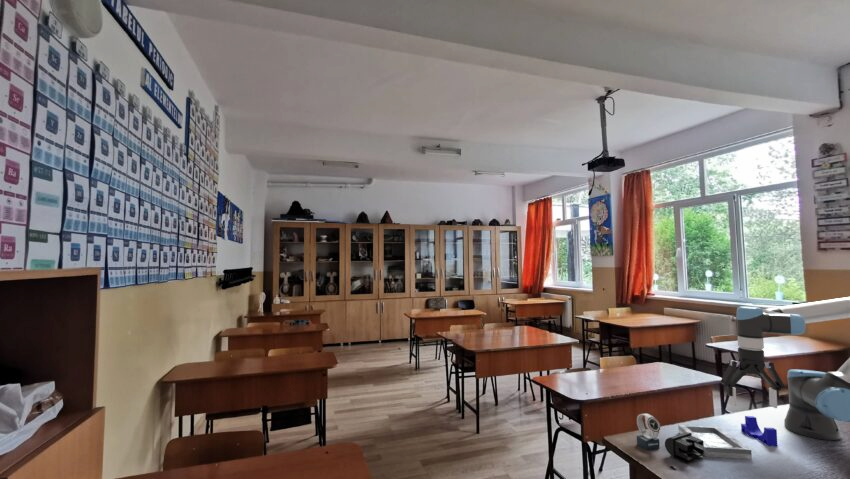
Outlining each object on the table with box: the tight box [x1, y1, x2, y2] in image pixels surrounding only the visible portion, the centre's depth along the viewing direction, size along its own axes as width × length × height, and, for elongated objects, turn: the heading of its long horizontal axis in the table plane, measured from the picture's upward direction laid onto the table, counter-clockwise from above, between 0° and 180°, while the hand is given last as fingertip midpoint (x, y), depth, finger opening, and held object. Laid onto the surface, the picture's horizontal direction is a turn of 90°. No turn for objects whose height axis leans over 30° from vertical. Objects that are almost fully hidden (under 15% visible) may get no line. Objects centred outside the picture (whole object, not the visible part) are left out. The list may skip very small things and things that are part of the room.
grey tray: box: [677, 424, 753, 460], centre depth 137 cm, size 14×18×3 cm
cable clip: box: [740, 415, 778, 448], centre depth 142 cm, size 12×4×6 cm, turn 170°
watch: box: [636, 412, 661, 451], centre depth 137 cm, size 6×8×11 cm
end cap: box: [664, 432, 705, 465], centre depth 129 cm, size 10×7×7 cm
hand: (753, 405), depth 143 cm, fingers open, 13 cm apart
